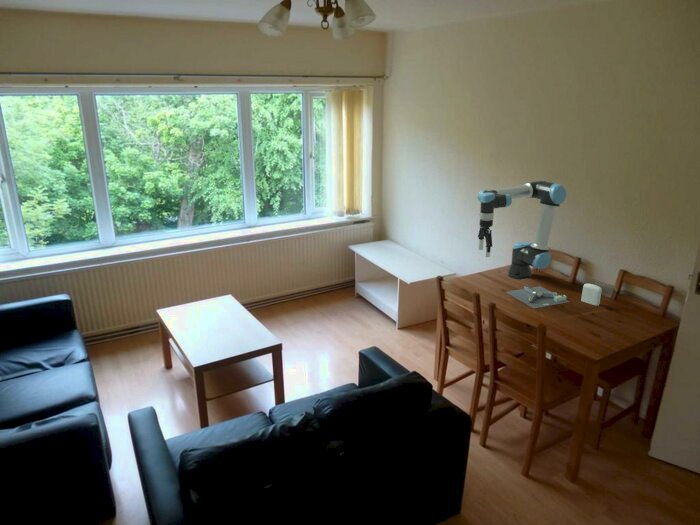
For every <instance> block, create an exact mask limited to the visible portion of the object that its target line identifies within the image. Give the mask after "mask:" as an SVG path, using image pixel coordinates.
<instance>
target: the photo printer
mask: <svg viewBox="0 0 700 525" xmlns="http://www.w3.org/2000/svg"><path fill="white" fill-rule="evenodd" d="M602 290H603V289H602V287H600V286H599V285H596V284H593V283H584V285H583V286H582V292H581V298H580V300H581V302H583V303H586V304H589V305H594V306H600V304H601V297H602Z"/></svg>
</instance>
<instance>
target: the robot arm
mask: <svg viewBox="0 0 700 525" xmlns="http://www.w3.org/2000/svg"><path fill="white" fill-rule="evenodd" d="M521 198H526V199H536V200H537V199H538V200H540V201H539V204H540V206H541V208H540V211H539V212H540V213H539V216H538V220H537V226H536V229H535V233H534V239H533V242H530V241H529V242H528V241H517V242H514V244H513V246H512V252H511V253H512V254H511V263H510V266H509V269H508V271H507V276H508V277H510V278H511V279H515V280H516V279H517V280H525V279H530V278H532V270H531V267H532V268H535V269H538V270H542V269H545V268H546V267H548V266H549V264H550V262H551V261H552V256H551V253H549V250H550V248H549V246H548V243H549V240H550V235H551V232H552V227H553V222H554V220H555V219H554V218H555V216H556V210H557V209H558V208H559V207H560V205H561V204H563V203H564V201H565V200H566V199H567V190H566V188H565V186H564V185H562V184H560V183H554V182H551V181H545V180H537V181H532V182H531V181H530V182H526V183H524V184H522V185H516V186H512V187H505V188H499V189H498V188H497V189H491V190H487V189H482V190H480V191H479V192H478V195H477V199H478V201H479V202H480V209H479V210H480V213H479V214H478V215H479V218H480V219H479V231H478V235H477V238H478V249H477V250H478V251H484V247H485V253H484V258H491V249H492V247H493V238H492V237H493V236H492V232H493V231H492V229H490V228H491V227H493V225H494V216H495V214H494V211H495V209H501V208H502V209H503V208H507V207H510V206H511V205H512V203H513V200H516V199H521ZM484 240H485V246H484Z"/></svg>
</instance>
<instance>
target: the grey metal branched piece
mask: <svg viewBox="0 0 700 525" xmlns="http://www.w3.org/2000/svg"><path fill="white" fill-rule="evenodd" d="M522 289H524V290H525V291H527V292H529V293H531V294H532V295H531V296H530V297H529V299H528V301H529V302H533V301H534V300H535V299H536V298H542V297H551V298H554V296H559V295H560V294H559V293H558V292H555V291H554V292H553V291H551V292H543V291H541V290H535V289H533V288H532V287H530V286H529V285H524V286H523V288H522Z"/></svg>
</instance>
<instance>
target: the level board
mask: <svg viewBox="0 0 700 525" xmlns="http://www.w3.org/2000/svg"><path fill="white" fill-rule="evenodd" d="M531 288H533V289H535V290H541V291H543V292H552V291H550V290H549V289H547V288H545V287H542V286H540V285H539V286H533V287H531ZM505 293H507V294H508V295H510V296H511V297H513V298H514V299H515V298H516V299H517V300H518V301H519V302H522V303H524V304H525V305H527V306H528V307H531V308H532V309H537V308H538V309H539V308H543V307H549V306H554V305H560V304H565V303H570V302H571V301H570V300H568V299H567V295H565V294H559V296H554V298H551V297H542V298H536V299H535V300H534V301H533V302H529V301H528V299H529V297H530V296H531V295H532V294H531V293H529V292H527V291H525V290H524V288H521V289H515V290H510V291H505Z"/></svg>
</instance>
